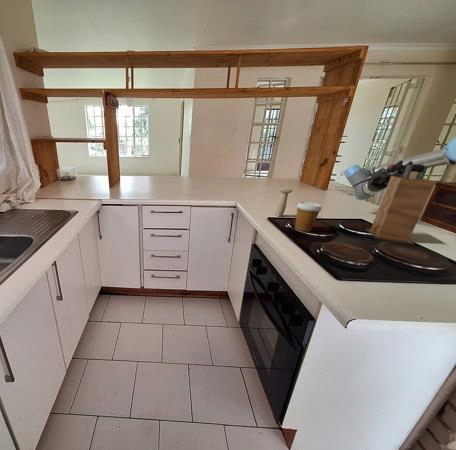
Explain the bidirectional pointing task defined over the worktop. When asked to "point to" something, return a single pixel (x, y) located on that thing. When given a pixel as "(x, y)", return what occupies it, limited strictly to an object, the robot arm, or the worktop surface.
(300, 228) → the disposable coffee cup
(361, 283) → the worktop surface
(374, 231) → the lever post
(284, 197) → the mushroom
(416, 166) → the lever
